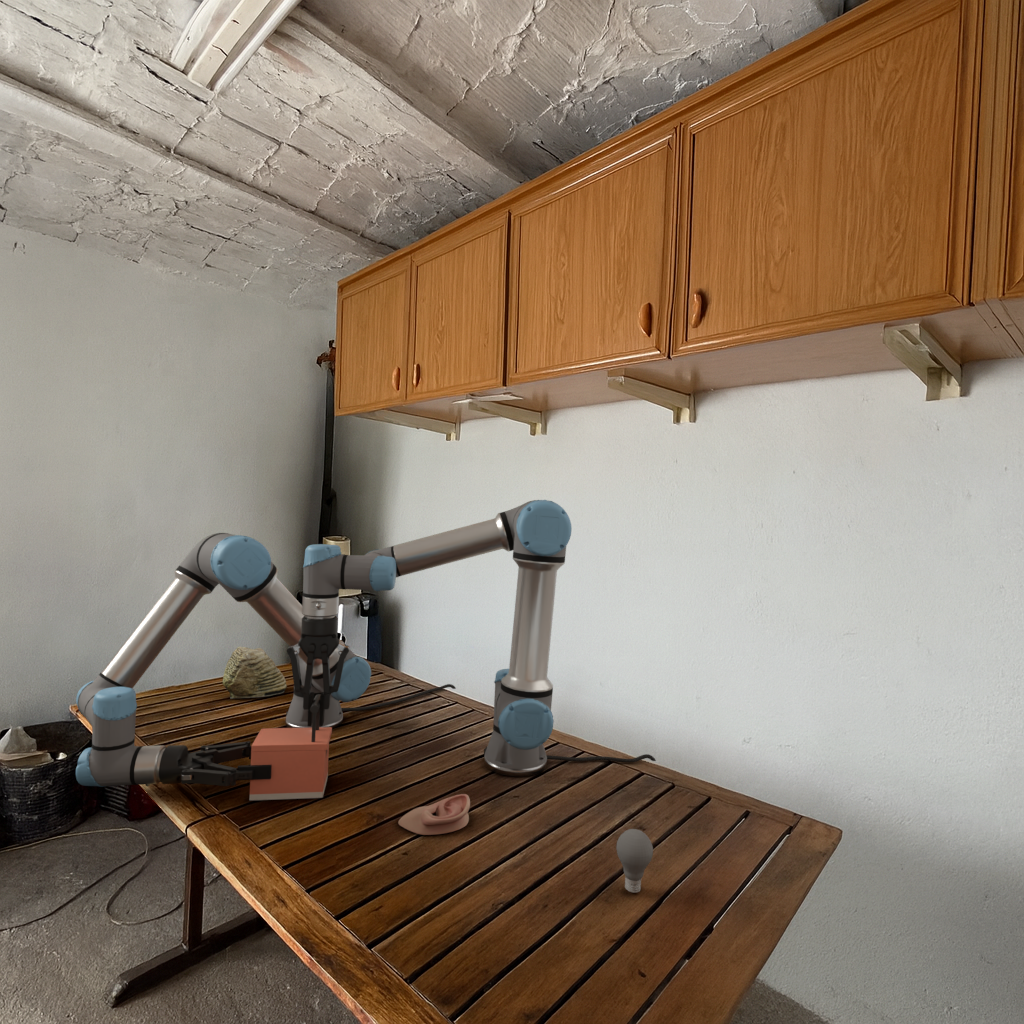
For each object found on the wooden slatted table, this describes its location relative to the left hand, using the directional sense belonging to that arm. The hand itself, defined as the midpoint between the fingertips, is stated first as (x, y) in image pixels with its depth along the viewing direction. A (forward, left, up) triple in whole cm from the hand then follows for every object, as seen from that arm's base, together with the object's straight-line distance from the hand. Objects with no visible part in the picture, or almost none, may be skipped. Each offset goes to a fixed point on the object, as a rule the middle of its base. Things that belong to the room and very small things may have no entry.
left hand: (275, 761), depth 136 cm
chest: (-2, +2, -6) cm, 7 cm away
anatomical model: (-14, +35, -6) cm, 38 cm away
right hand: (-6, +5, +8) cm, 11 cm away
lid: (-3, +2, +4) cm, 5 cm away
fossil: (-30, -62, -6) cm, 69 cm away
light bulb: (-21, +75, -6) cm, 78 cm away
